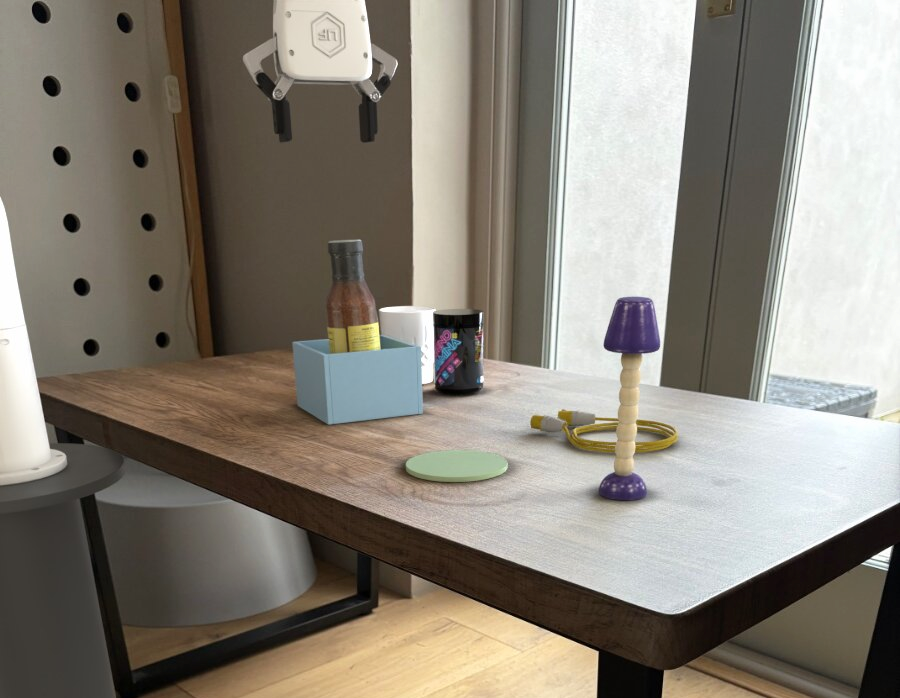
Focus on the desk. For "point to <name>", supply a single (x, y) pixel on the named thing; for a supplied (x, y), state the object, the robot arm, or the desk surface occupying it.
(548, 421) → the extension cord
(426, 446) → the desk surface
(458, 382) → the supplement container
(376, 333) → the sauce bottle
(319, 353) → the case
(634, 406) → the toy lamp
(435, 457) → the mat
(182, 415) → the desk surface
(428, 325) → the white cup
